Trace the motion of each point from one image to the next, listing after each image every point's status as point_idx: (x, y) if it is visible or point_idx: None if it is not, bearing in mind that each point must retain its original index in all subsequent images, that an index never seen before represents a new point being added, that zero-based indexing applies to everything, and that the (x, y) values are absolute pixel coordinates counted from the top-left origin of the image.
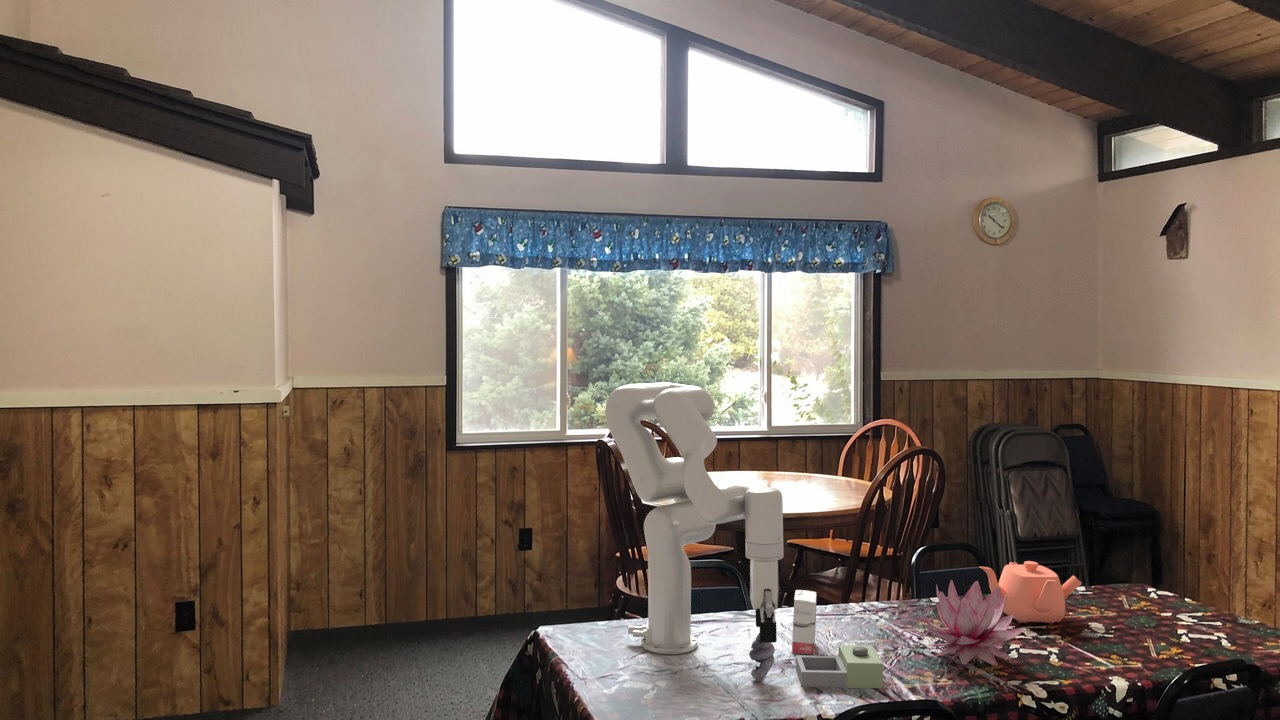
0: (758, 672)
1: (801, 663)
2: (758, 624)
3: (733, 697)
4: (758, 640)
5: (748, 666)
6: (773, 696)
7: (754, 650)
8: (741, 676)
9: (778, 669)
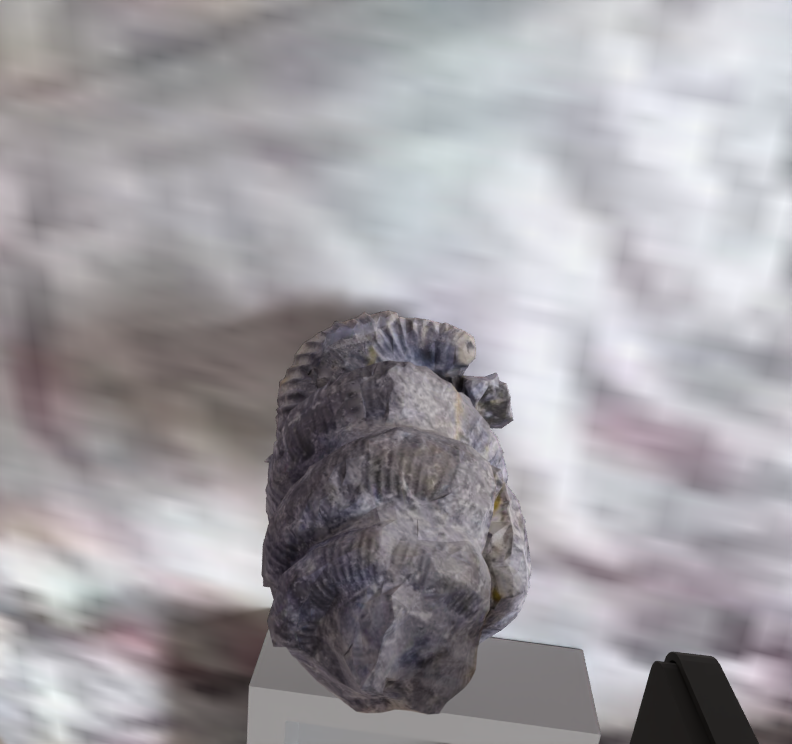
0: (292, 376)
1: (421, 727)
2: (661, 701)
3: (48, 84)
4: (316, 547)
5: (716, 339)
6: (101, 400)
7: (332, 436)
8: (498, 237)
9: (607, 545)
